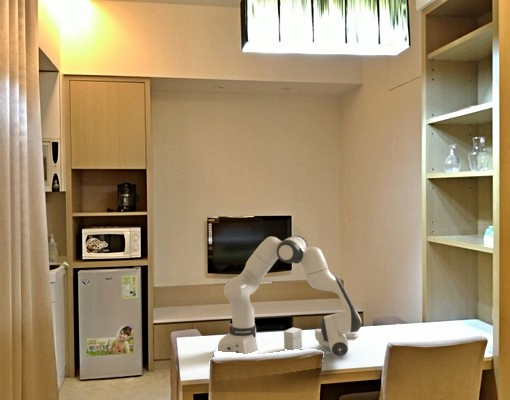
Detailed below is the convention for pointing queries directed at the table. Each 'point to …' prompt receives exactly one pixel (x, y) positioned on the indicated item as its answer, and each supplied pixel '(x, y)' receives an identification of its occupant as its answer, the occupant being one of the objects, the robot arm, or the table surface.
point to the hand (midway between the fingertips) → (334, 329)
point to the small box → (293, 339)
